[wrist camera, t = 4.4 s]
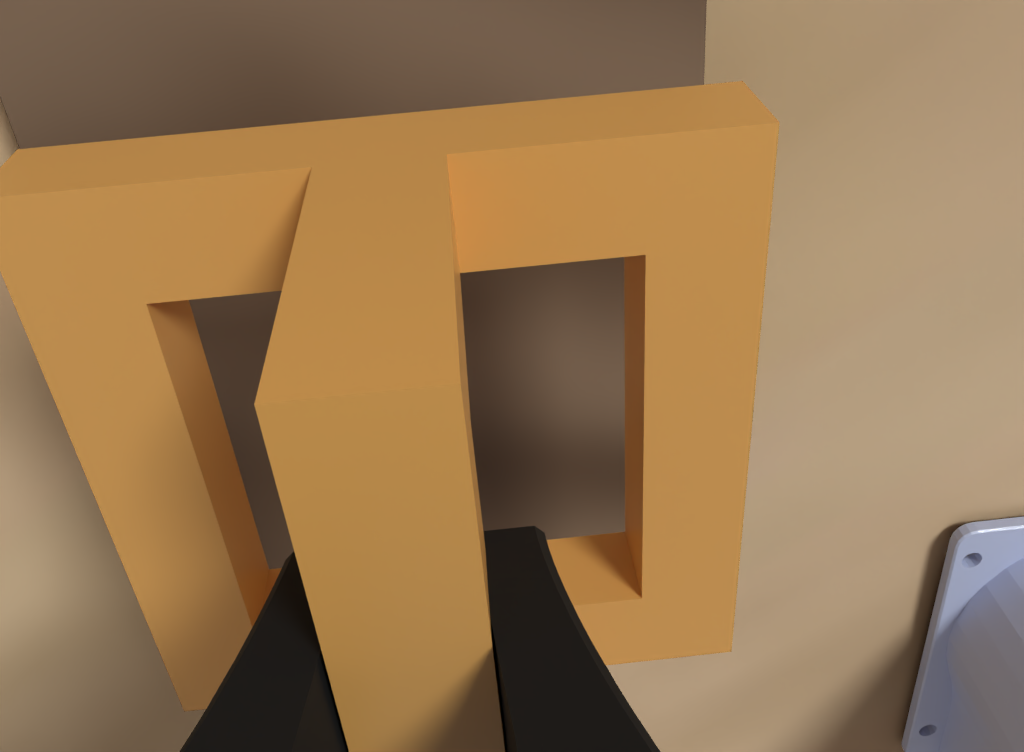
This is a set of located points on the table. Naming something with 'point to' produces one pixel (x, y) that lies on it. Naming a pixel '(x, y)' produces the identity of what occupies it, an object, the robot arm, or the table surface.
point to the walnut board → (371, 92)
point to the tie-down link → (399, 374)
